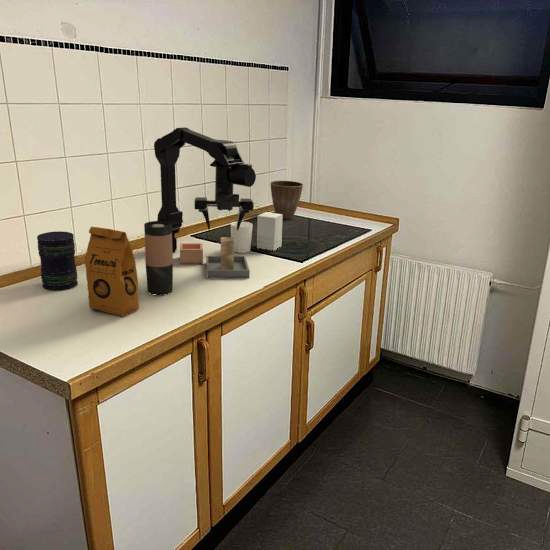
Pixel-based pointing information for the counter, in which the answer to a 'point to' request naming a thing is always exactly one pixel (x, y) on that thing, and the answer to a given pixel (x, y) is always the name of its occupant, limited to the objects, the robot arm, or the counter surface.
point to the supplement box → (269, 231)
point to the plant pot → (286, 197)
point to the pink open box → (191, 253)
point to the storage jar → (57, 260)
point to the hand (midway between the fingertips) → (223, 229)
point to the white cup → (241, 236)
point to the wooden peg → (227, 253)
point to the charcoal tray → (215, 270)
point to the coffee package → (111, 272)
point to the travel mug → (159, 257)
